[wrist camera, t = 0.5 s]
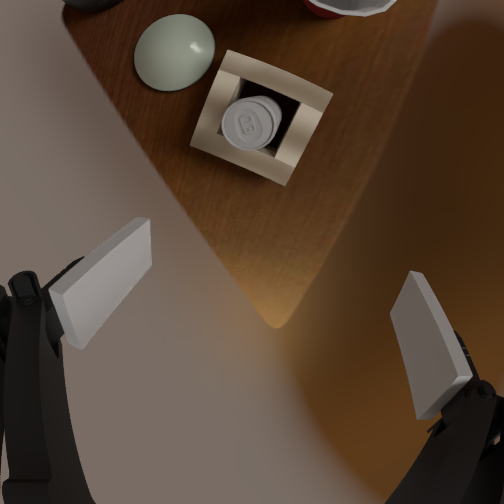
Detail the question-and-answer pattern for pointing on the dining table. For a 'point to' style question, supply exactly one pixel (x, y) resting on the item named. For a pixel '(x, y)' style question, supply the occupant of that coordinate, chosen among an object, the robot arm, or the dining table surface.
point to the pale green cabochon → (174, 52)
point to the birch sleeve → (229, 90)
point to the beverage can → (251, 122)
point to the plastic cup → (346, 7)
